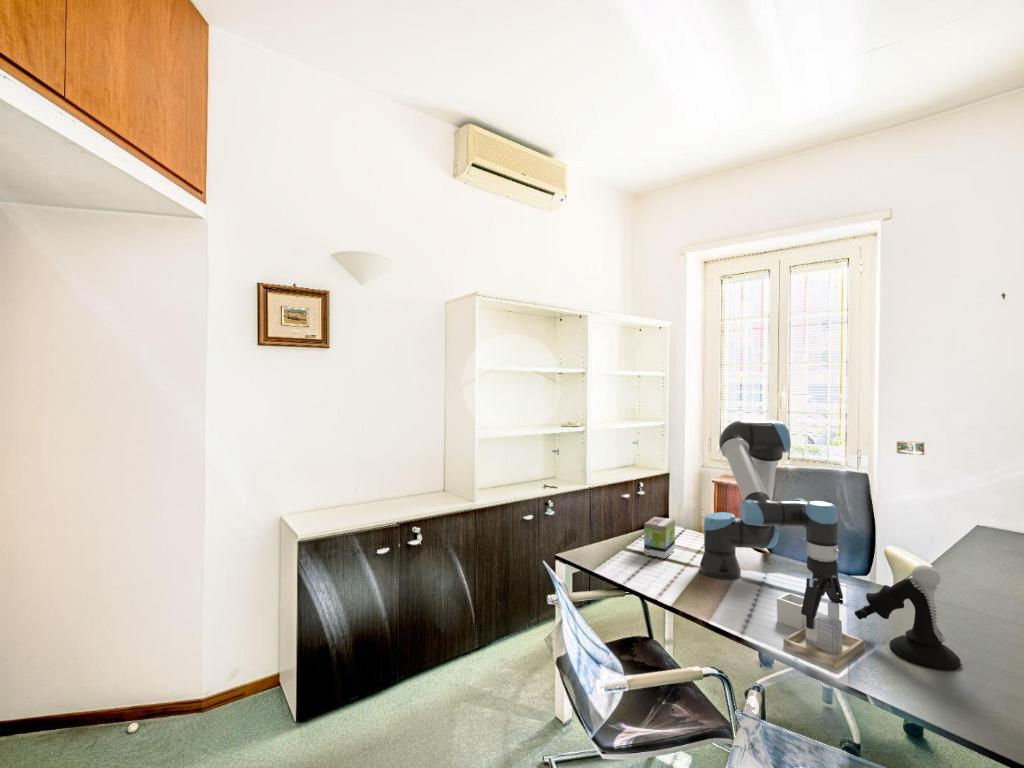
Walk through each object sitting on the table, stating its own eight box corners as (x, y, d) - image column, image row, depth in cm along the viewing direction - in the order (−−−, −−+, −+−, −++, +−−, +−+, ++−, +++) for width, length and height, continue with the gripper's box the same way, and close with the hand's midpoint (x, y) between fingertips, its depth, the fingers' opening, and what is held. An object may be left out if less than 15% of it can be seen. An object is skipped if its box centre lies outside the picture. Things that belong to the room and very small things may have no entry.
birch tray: (783, 649, 140) (783, 639, 140) (812, 631, 150) (812, 621, 150) (836, 672, 129) (836, 660, 129) (864, 650, 139) (864, 640, 139)
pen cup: (777, 623, 155) (776, 598, 155) (788, 617, 159) (788, 592, 159) (801, 633, 149) (801, 606, 149) (813, 626, 153) (812, 600, 153)
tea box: (666, 560, 212) (665, 526, 213) (643, 556, 218) (643, 523, 218) (675, 550, 225) (675, 518, 225) (653, 547, 230) (653, 515, 231)
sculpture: (955, 678, 125) (954, 580, 126) (847, 642, 143) (846, 557, 143) (964, 656, 135) (962, 565, 136) (862, 625, 153) (860, 545, 153)
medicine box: (843, 651, 137) (842, 620, 137) (834, 656, 135) (833, 624, 135) (813, 639, 144) (813, 609, 144) (805, 643, 142) (804, 613, 142)
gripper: (815, 571, 129) (816, 651, 129) (855, 551, 143) (856, 624, 143) (786, 563, 135) (787, 639, 135) (827, 545, 150) (828, 614, 150)
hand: (823, 632), depth 139 cm, fingers open, 13 cm apart
